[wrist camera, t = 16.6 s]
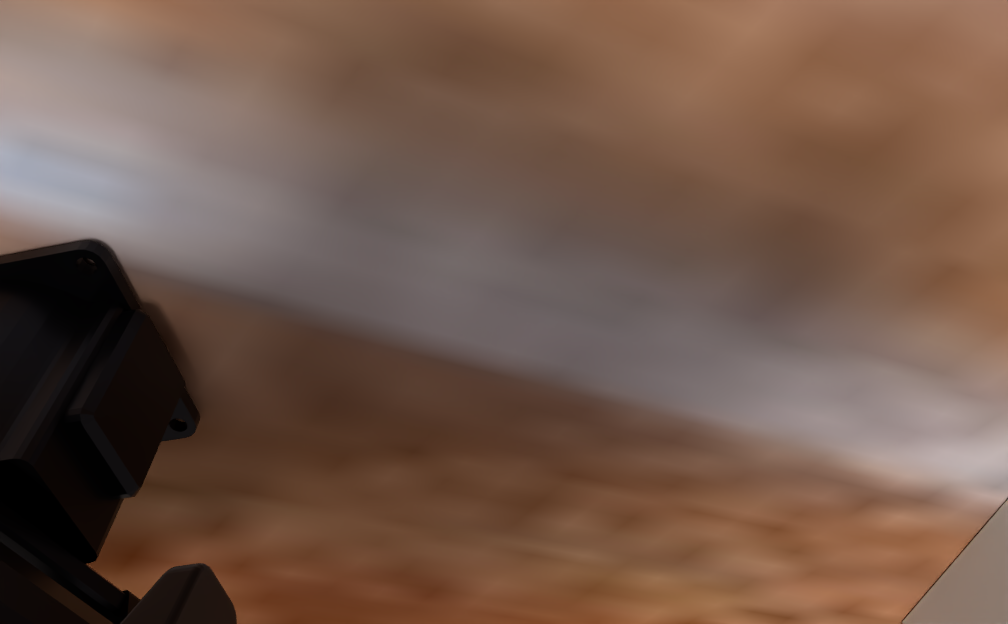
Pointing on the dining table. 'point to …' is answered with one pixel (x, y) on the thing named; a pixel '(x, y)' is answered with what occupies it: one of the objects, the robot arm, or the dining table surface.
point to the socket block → (972, 582)
